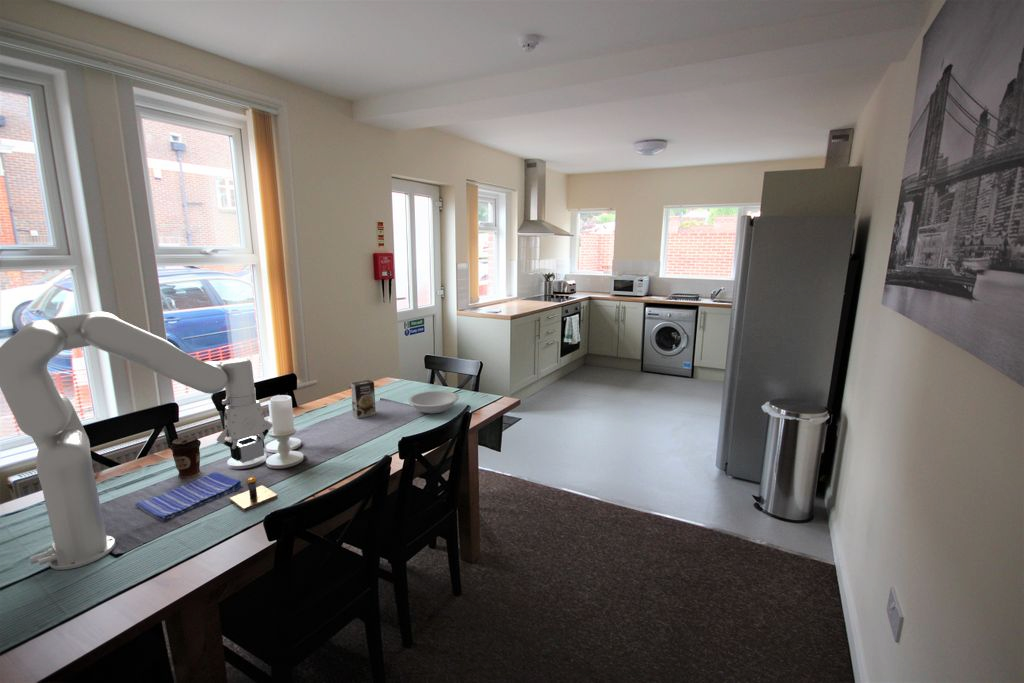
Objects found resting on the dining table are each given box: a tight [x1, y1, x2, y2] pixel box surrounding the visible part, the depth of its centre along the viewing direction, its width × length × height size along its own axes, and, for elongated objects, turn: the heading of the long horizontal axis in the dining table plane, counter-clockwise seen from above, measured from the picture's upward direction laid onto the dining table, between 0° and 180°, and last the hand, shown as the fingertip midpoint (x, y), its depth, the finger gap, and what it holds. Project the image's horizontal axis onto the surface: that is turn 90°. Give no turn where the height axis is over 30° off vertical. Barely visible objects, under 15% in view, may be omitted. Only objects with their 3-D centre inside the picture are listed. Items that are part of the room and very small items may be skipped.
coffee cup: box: [169, 436, 201, 479], centre depth 161 cm, size 9×8×13 cm
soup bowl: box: [407, 390, 460, 414], centre depth 225 cm, size 24×24×7 cm
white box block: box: [237, 435, 265, 464], centre depth 143 cm, size 6×6×5 cm
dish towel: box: [135, 471, 242, 522], centre depth 148 cm, size 17×24×3 cm
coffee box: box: [350, 379, 377, 419], centre depth 219 cm, size 9×6×16 cm
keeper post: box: [229, 476, 278, 512], centre depth 145 cm, size 10×10×7 cm
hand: (248, 454), depth 143 cm, fingers closed on white box block, 6 cm apart
